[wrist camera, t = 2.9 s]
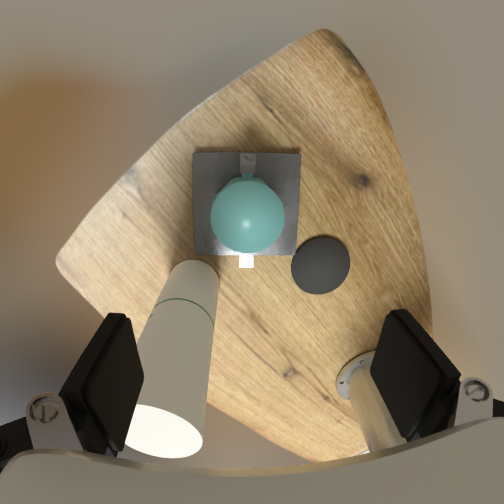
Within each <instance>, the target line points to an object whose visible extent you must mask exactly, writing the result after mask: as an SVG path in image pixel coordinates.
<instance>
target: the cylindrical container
mask: <svg viewBox="0 0 504 504" xmlns="http://www.w3.org/2000/svg"><path fill="white" fill-rule="evenodd" d="M218 292H219V278H218V276H217V274H216V272H215V270H214V269H213V268H212V267H211V266H209V265H208V264H206V263H205V262H202V261H199V260H186V261H183V262H181V263H179V264H177V265H176V266H175V267H174V268H173V270H172V272H171V273H170V275H169V277H168V279H167V281H166V283H165V285H164V287H163V289H162V291H161V293H160V295H159V297H158V300H157V302H156V304H155V306H154V308H153V310H152V312H151V314H150V316H149V318H148V320H147V323H146V325H145V327H144V329H143V331H142V333H141V336H140V338H139V340H138V342H137V344H136V345H137V349H138V353H139V357H140V361H141V364H142V368H143V372H144V382H143V385H142V388H141V391H140V394H139V398H138V401H137V404H136V407H135V410H134V414H133V417H132V420H131V424H130V427H129V430H128V434H127V437H126V441H125V444H126V445H128V446H130V447H132V448H134V449H136V450H138V451H140V452H143V453H146V454H149V455H153V456H158V457H165V458H181V457H186V456H189V455H192V454H194V453H196V452H197V451H198V450H199V449H200V448H201V446H202V441H203V430H204V419H205V409H206V398H207V389H208V379H209V370H210V361H211V352H212V343H213V334H214V326H215V317H216V309H217V300H218Z"/></svg>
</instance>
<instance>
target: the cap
mask: <svg viewBox="0 0 504 504" xmlns="http://www.w3.org/2000/svg"><path fill="white" fill-rule="evenodd" d="M284 220H285V213H284V208H283V203H282V201H281V199H280V198H279V197H278V196H277V195H276V193H275V192H274V191H273V190H272V189H271V188H270V187H269V186H268V185H267V184H266V183H265V182H264V181H263V180H262V179H261V178H253V173H242V177H235V179H234V178H233V179H232V180H231V181H230V182H229V183H228V184H227V185H226V186H225V187H223V188H222V189H221V190H220V191H219V192H218V193H217V194H216V196H215V198H214V200H213V202H212V210H211V225H212V229H213V231H214V233H215V235H216V237H217V238H218V240H219V241H220V242H221V243H222V244H223V245H225V246H226V247H227V248H229V249H231V250H233V251H236V252H240V253H255V252H259V251H262V250H264V249H266V248H267V247H269V246H270V245H272V244H273V243H274V242H275V241H276V240H277V238H278V237H279V235H280V234H281V232H282V229H283V226H284Z"/></svg>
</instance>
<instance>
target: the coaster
mask: <svg viewBox="0 0 504 504" xmlns="http://www.w3.org/2000/svg"><path fill="white" fill-rule="evenodd" d="M349 268H350V258H349V254H348V252H347V250H346V249H345V247H344V246H343V245H342V244H341V243H340V242H338V241H337V240H335V239H332V238H329V237H317V238H314V239H311V240H309V241H307V242H305V243H304V244H303V245H302V246H301V247H300V248H299V249H298V250H297V251H296V253H295V255H294V257H293V260H292V264H291V272H292V276H293V279H294V281H295V283H296V284H297V285H298V287H299V288H301V289H302V290H303V291H305V292H307V293H310V294H325V293H328V292H331V291H333V290H334V289H336V288H337V287H339V286H340V285H341V284H342V283H343V281H344V280H345V278H346V277H347V275H348V272H349Z"/></svg>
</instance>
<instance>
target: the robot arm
mask: <svg viewBox="0 0 504 504" xmlns="http://www.w3.org/2000/svg"><path fill="white" fill-rule="evenodd" d="M460 376H461V373H460V372H459V371H458V370H457V368H456V367H455V366H454V365H453V363H452V362H451V361H450V360H449V359H448V357H447V356H446V355H445V354H444V352H443V351H442V350H441V349H440V348H439V346H438V345H437V344H436V343H435V342H434V340H433V339H432V338H431V337H430V336H429V335H428V333H427V332H426V331H425V330H424V329H423V328H422V326H421V325H420V324H419V323H418V322H417V321H416V320H415V319H414V317H413V316H412V315H411V314H410V313H409V312H408V311H407V310H406V309H398V310H392V311H391V312H390V313H389V314H388V315H387V316H386V318H385V321H384V325H383V328H382V332H381V335H380V338H379V342H378V345H377V348H376V351H371V352H367V353H365V354H362V355H360V356H358V357H356V358H355V359H353V360H352V361H351V362H349V363H348V364H347V365H346V366H345V367H344V368H343V369H342V370H341V372H340V373H339V375H338V377H337V380H336V389H337V391H338V394H339V395H340V396H341V397H342V398H344V399H346V400H350V402H351V404H352V407H353V409H354V412H355V414H356V417H357V420H358V422H359V425H360V427H361V430H362V433H363V435H364V438H365V441H366V443H367V446H368V449H369V451H370V453H367V454H363V455H358V456H353V457H348V458H343V459H338V460H332V461H326V462H319V463H312V464H304V465H296V466H285V467H271V468H251V469H250V468H249V469H215V468H193V467H181V466H170V465H162V464H154V463H146V462H140V461H133V460H127V459H121V458H116V457H117V454H118V451H122V450H123V448H124V444H125V441H126V437H127V434H128V430H129V427H130V424H131V420H132V417H133V414H134V410H135V407H136V404H137V401H138V398H139V394H140V391H141V388H142V385H143V382H144V372H143V368H142V364H141V361H140V357H139V353H138V349H137V345H136V341H135V337H134V333H133V328H132V324H131V320H130V318H126V315H125V314H123V313H109V314H108V315H107V316H106V318H105V319H104V321H103V322H102V324H101V325H100V327H99V328H98V330H97V331H96V333H95V335H94V336H93V338H92V339H91V341H90V343H89V344H88V346H87V347H86V348H85V350H84V352H83V353H82V355H81V356H80V358H79V360H78V361H77V363H76V365H75V366H74V368H73V370H72V371H71V373H70V375H69V377H68V379H67V380H66V382H65V383H64V385H63V387H62V389H61V391H60V392H59V394H58V395H56V394H54V393H42V394H39V395H36V396H35V397H33V398H32V399H31V400H30V401H29V403H28V404H27V406H26V409H25V415H26V417H23V418H20V419H18V420H15V421H13V422H10V423H7V424H4V425H2V426H0V504H504V402H502V401H499V400H496V399H493V393H492V389H491V387H490V386H489V385H488V384H487V383H486V382H485V381H483V380H482V379H480V378H476V377H468V378H465V379H464V380H463V381H462V382H460V381H459V378H460Z"/></svg>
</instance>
